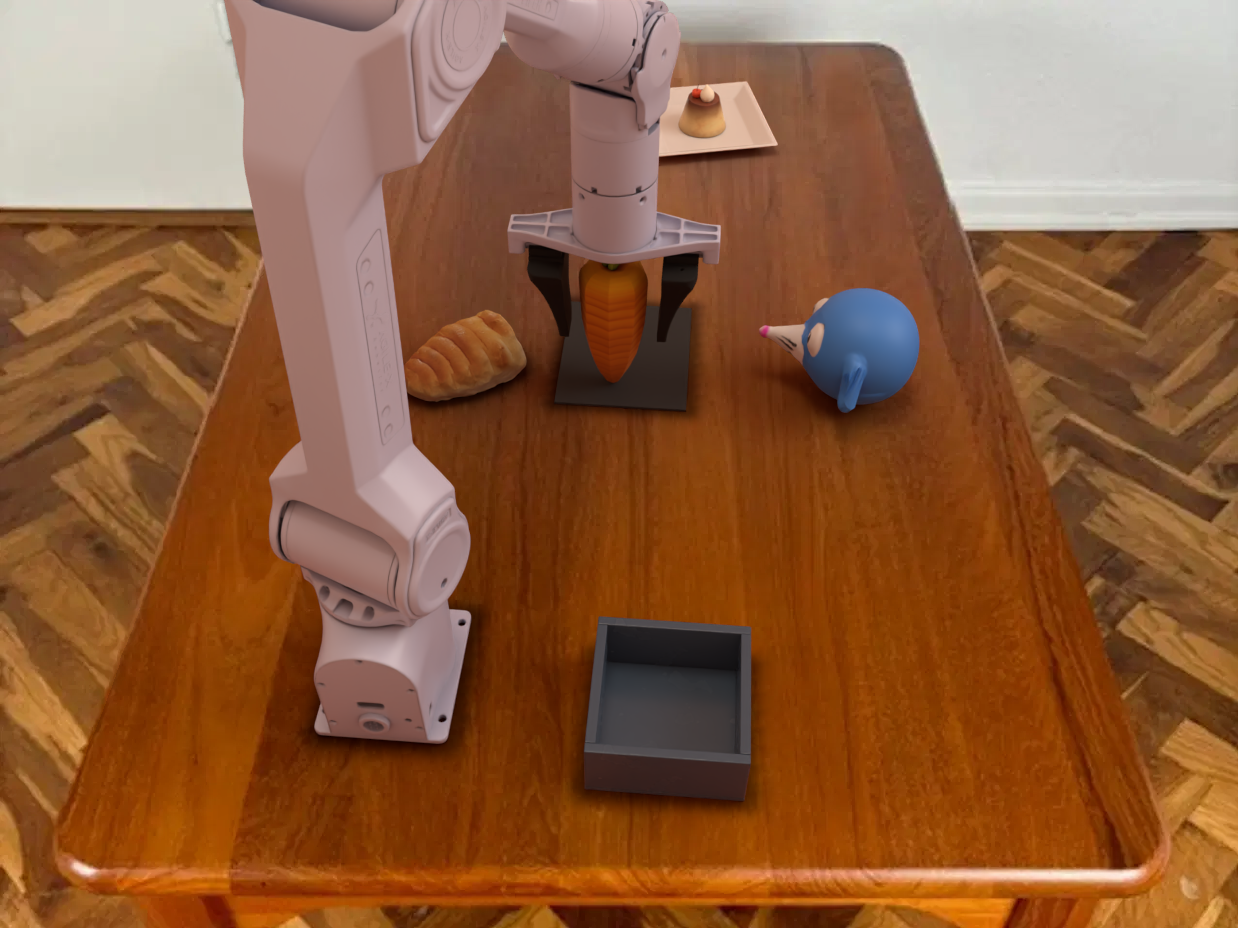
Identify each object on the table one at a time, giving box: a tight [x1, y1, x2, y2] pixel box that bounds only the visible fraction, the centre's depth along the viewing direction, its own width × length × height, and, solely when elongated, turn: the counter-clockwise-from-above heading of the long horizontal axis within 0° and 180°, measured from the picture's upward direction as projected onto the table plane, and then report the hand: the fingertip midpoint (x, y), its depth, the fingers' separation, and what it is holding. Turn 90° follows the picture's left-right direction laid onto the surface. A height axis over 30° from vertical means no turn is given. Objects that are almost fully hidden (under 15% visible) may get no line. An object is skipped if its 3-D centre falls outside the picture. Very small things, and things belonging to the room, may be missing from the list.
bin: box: [583, 615, 752, 802], centre depth 70 cm, size 9×9×4 cm
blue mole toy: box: [758, 287, 920, 414], centre depth 89 cm, size 12×12×8 cm
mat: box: [553, 300, 693, 412], centre depth 94 cm, size 12×10×1 cm
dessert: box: [659, 80, 779, 158], centre depth 116 cm, size 12×12×5 cm
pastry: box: [403, 309, 527, 403], centre depth 92 cm, size 9×7×4 cm
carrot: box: [578, 259, 649, 383], centre depth 87 cm, size 5×5×15 cm
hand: (613, 330), depth 88 cm, fingers open, 6 cm apart
